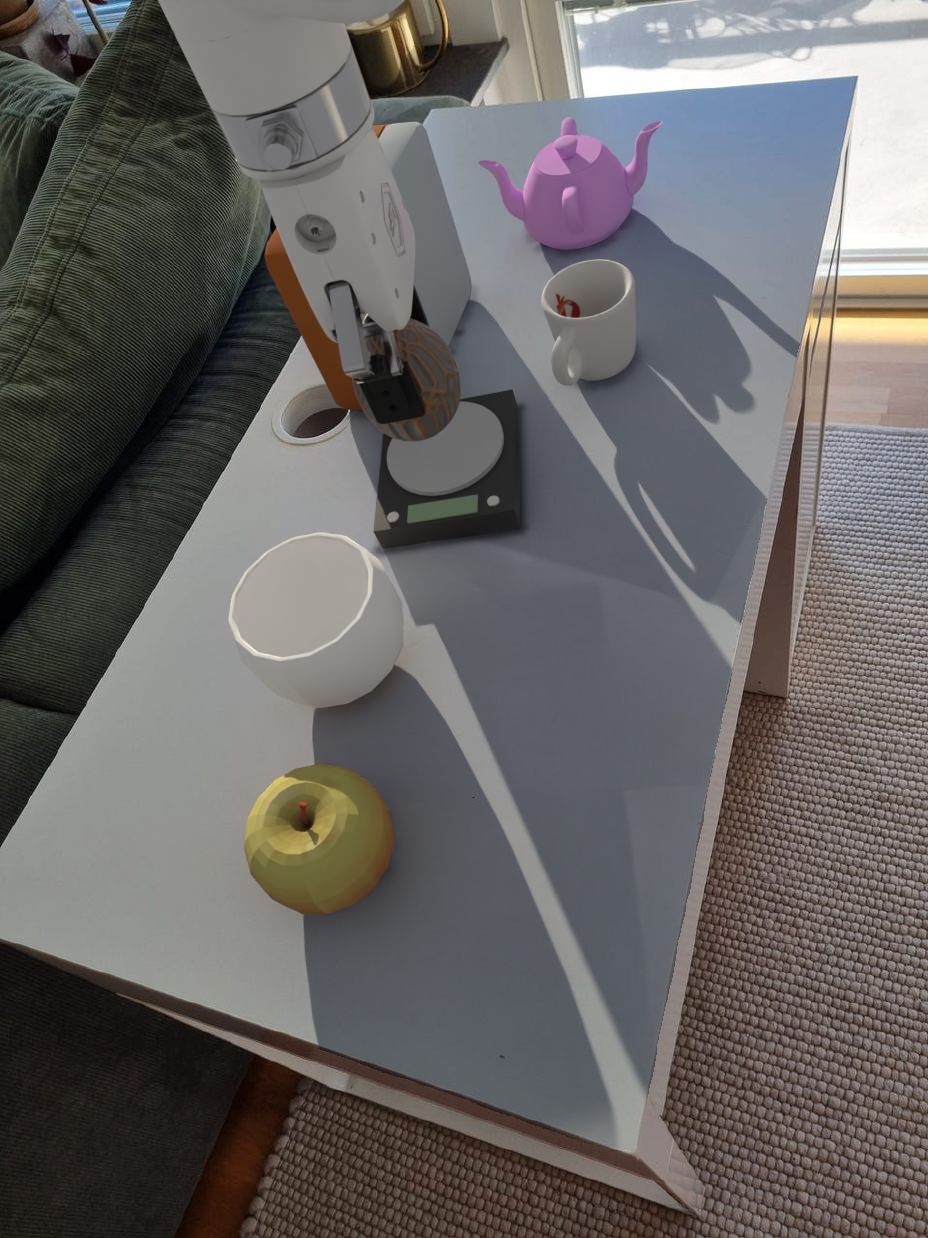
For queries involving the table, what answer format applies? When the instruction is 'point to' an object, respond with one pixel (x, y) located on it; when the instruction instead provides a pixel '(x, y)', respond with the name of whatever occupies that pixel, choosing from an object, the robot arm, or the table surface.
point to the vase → (420, 381)
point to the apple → (319, 839)
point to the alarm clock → (436, 256)
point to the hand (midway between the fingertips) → (404, 373)
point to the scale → (453, 477)
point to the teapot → (575, 189)
